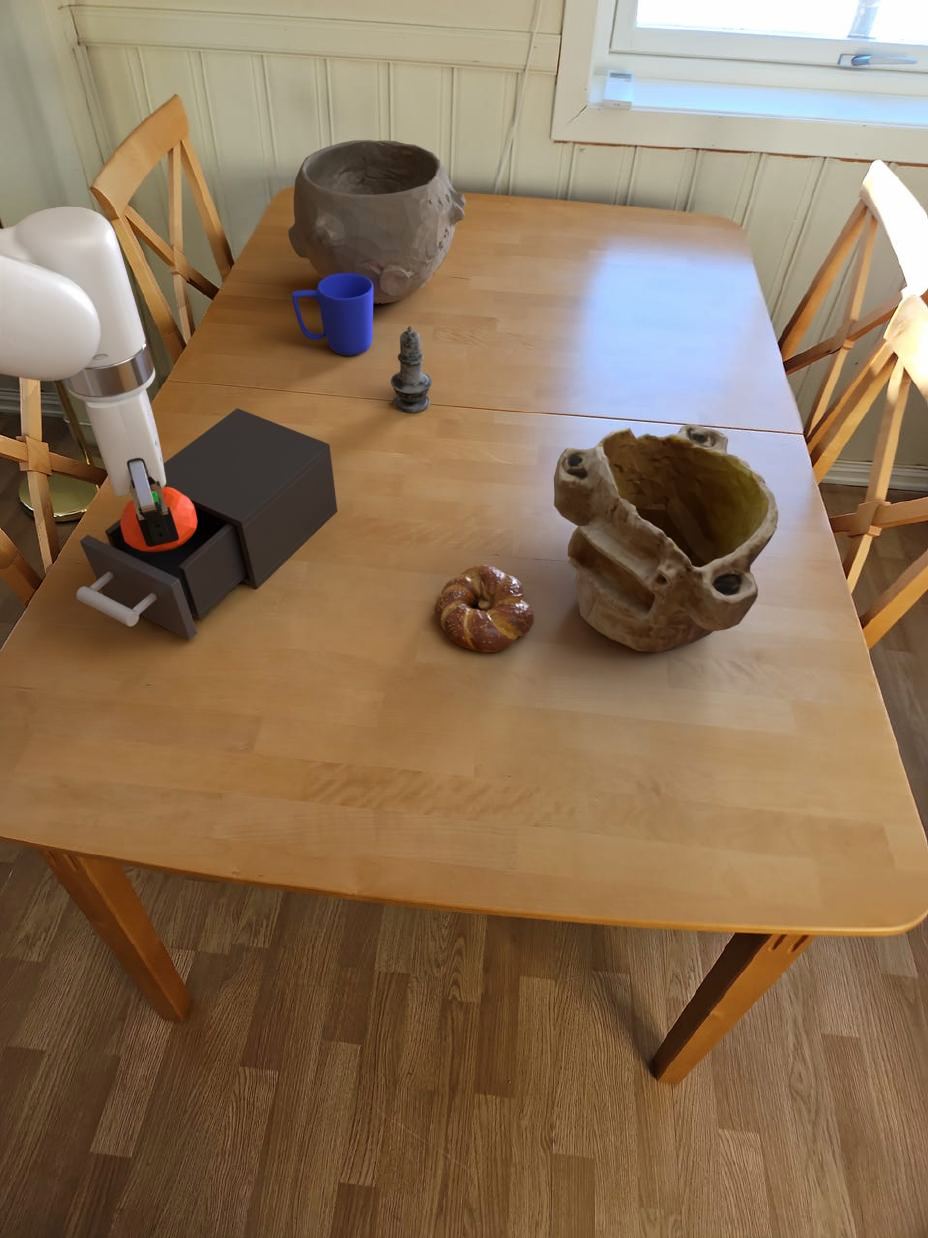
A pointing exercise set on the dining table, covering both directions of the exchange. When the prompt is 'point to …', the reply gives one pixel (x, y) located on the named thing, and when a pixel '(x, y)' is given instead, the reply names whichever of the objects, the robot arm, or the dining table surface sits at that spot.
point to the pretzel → (483, 609)
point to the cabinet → (258, 486)
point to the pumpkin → (181, 515)
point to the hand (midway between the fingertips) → (157, 516)
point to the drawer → (165, 575)
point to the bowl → (375, 214)
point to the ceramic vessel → (663, 534)
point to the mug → (342, 312)
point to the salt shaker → (411, 376)
